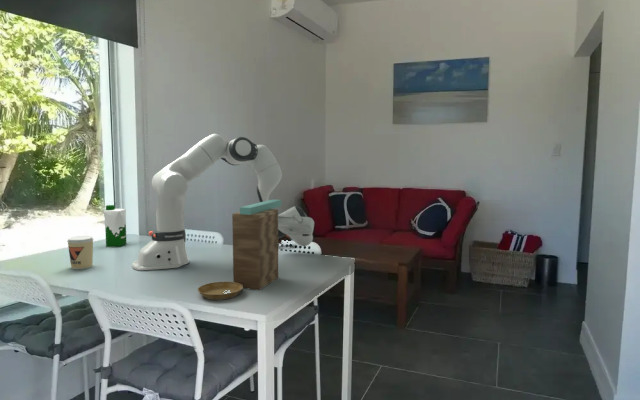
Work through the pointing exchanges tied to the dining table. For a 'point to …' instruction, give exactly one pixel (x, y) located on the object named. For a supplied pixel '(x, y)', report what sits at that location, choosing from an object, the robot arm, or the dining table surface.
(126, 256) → the dining table surface
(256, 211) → the board
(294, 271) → the dining table surface
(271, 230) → the shelf block
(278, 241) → the pottery mug
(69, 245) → the coffee cup
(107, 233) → the milk carton
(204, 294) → the plant saucer
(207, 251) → the dining table surface
